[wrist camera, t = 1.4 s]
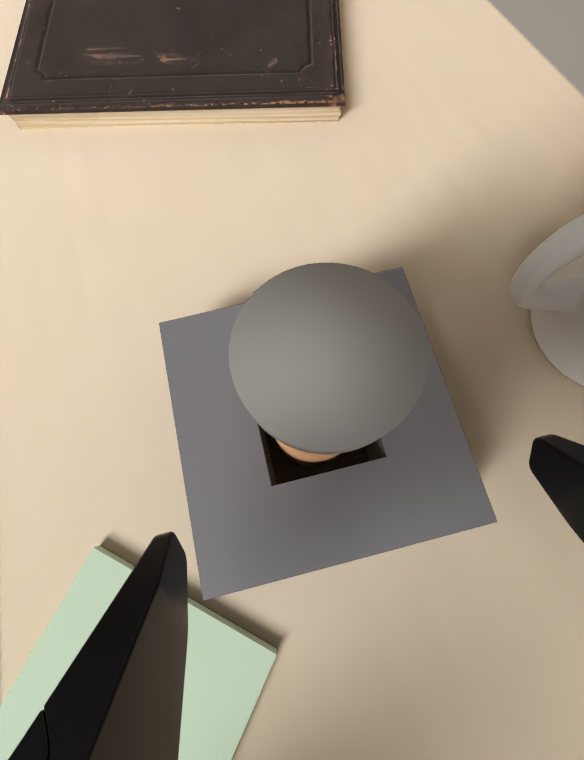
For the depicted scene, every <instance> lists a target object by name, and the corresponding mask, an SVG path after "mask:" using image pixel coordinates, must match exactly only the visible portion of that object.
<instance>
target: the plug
mask: <svg viewBox="0 0 584 760" xmlns="http://www.w3.org/2000/svg"><path fill="white" fill-rule="evenodd" d="M428 356H429V355H428V346H427V340H426V336H425V332H424V329H423V327H422V324H421V322H420V319H419V317H418V316H417V314H416V312H415V310H414V309H413V307H412V306H411V305H410V303H409V302H408V301H407V299H406V298H405V297H404V296H403V295H402V294H401V293H400V292H399V291H398V290H397V289H396V288H395V287H393V286H392V285H391V284H390V283H389V282H387V281H385V280H384V279H382V278H381V277H379V276H377V275H375V274H373V273H371V272H369V271H367V270H364V269H361V268H358V267H355V266H350V265H346V264H339V263H314V264H307V265H303V266H299V267H295V268H292V269H290V270H287V271H284V272H282V273H281V274H279V275H277V276H275V277H273V278H272V279H270V280H269V281H267V282H266V283H264V284H263V285H262V286H261V287H260V288H259V289H257V290H256V291H255V292H254V293H253V294H252V296H251V297H250V298H249V299H248V300H247V302H246V303H245V305H244V306H243V308H242V309H241V311H240V313H239V315H238V317H237V319H236V321H235V323H234V326H233V329H232V332H231V338H230V343H229V366H230V372H231V376H232V381H233V383H234V386H235V388H236V391H237V393H238V395H239V397H240V399H241V401H242V402H243V404H244V406H245V407H246V409H247V410H248V412H249V413H250V414H251V416H252V417H253V418H254V420H255V421H256V422H257V423H258V424H259V426H260V427H261V428H262V429H263V430H264V431H266V432H267V433H268V434H269V435H271V436H272V437H273V438H275V440H276V442H277V444H278V445H279V447H280V449H281V450H282V452H283V453H284V454H285V455H286V456H287V457H288V458H289V459H291V460H292V461H294V462H296V463H298V464H301V465H306V466H318V465H322V464H325V463H328V462H330V461H331V460H333V459H334V458H335V457H337V456H338V455H339V454H340V453H346V452H350V451H353V450H357V449H360V448H362V447H364V446H367V445H369V444H371V443H373V442H374V441H376V440H377V439H379V438H381V437H382V436H384V435H386V434H387V433H389V432H390V431H392V430H393V429H394V428H395V427H397V426H398V425H399V424H400V423H401V422H402V421H403V420H404V419H405V418H406V417H407V416H408V415H409V413H410V412H411V410H412V409H413V407H414V406H415V405H416V403H417V401H418V399H419V397H420V395H421V393H422V390H423V387H424V384H425V381H426V377H427V371H428Z"/></svg>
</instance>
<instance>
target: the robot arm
mask: <svg viewBox="0 0 584 760" xmlns="http://www.w3.org/2000/svg"><path fill="white" fill-rule="evenodd" d="M529 465H530V469H531V471H532V473H533V474H534V476H535V477H536V478H537V480H538V481H539V483H540V484H541V486H542V487H543V488H544V490H545V491H546V493H547V494H548V496H549V497H550V499H551V500H552V501H553V503H554V504H555V506H556V507H557V509H558V510H559V511H560V513H561V514H562V516H563V517H564V519H565V520H566V521H567V523H568V524H569V525H570V527H571V528H572V529H573V530H574V532H575V533H576V534H577V535H578V537H579V538H580V539H581V540H582V541H583V542H584V445H581V444H579V443H576V442H573V441H570V440H567V439H565V438H562V437H559V436H556V435H552V434H551V435H545V436H541V437H537V438H535V440H534V441H533V444H532V449H531V455H530V460H529ZM187 642H188V593H187V560H186V555H185V552H184V550H183V548H182V546H181V544H180V542H179V540H178V539H177V537H176V535H175V533H173V532H167V533H163V534H159V535H157V536H155V537H154V538H153V540H152V541H151V543H150V544H149V546H148V547H147V549H146V550H145V552H144V553H143V555H142V556H141V558H140V559H139V561H138V563H137V564H136V566H135V567H134V569H133V570H132V572H131V573H130V575H129V576H128V578H127V579H126V581H125V582H124V584H123V585H122V587H121V589H120V590H119V592H118V593H117V595H116V596H115V598H114V599H113V601H112V602H111V604H110V605H109V607H108V608H107V610H106V611H105V613H104V615H103V616H102V618H101V619H100V621H99V622H98V624H97V625H96V627H95V628H94V630H93V631H92V633H91V634H90V636H89V637H88V639H87V641H86V642H85V644H84V645H83V647H82V648H81V650H80V651H79V653H78V654H77V656H76V657H75V659H74V660H73V662H72V663H71V665H70V667H69V668H68V670H67V671H66V673H65V674H64V676H63V677H62V679H61V680H60V682H59V683H58V685H57V686H56V688H55V689H54V691H53V693H52V694H51V696H50V697H49V699H48V700H47V702H46V703H45V705H44V710H41V711H40V712H39V714H38V715H37V717H36V718H35V720H34V721H33V723H32V724H31V726H30V727H29V729H28V730H27V732H26V734H25V735H24V737H23V738H22V739H21V741H20V742H19V744H18V745H17V747H16V748H15V750H14V751H13V753H12V754H11V756H10V757H9V759H8V760H178V756H179V743H180V730H181V718H182V705H183V693H184V680H185V668H186V655H187Z"/></svg>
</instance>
